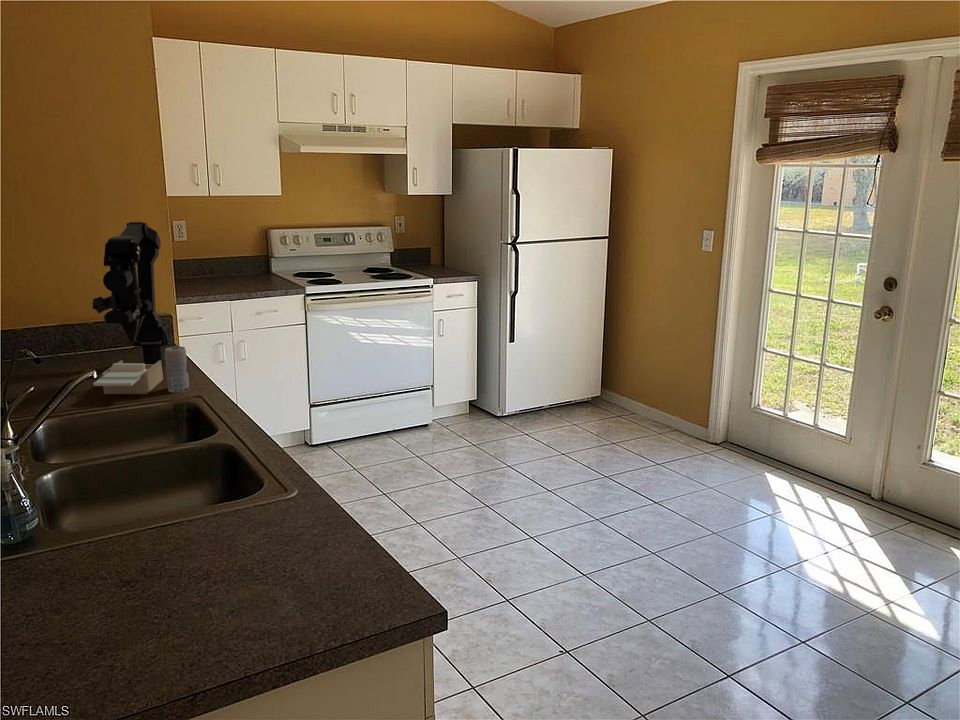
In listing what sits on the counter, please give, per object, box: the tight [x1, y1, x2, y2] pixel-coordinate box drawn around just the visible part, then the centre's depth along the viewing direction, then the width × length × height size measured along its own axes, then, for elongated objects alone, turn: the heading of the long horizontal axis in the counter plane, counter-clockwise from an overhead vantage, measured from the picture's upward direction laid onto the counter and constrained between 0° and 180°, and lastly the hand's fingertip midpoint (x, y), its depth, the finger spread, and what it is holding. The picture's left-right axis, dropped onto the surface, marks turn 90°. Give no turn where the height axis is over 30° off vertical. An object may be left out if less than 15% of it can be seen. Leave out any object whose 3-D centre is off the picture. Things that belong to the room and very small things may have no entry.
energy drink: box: [164, 346, 190, 394], centre depth 208 cm, size 5×5×12 cm
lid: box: [92, 362, 148, 387], centre depth 202 cm, size 13×9×2 cm
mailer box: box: [101, 359, 164, 395], centre depth 210 cm, size 13×11×6 cm
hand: (132, 342), depth 211 cm, fingers closed
